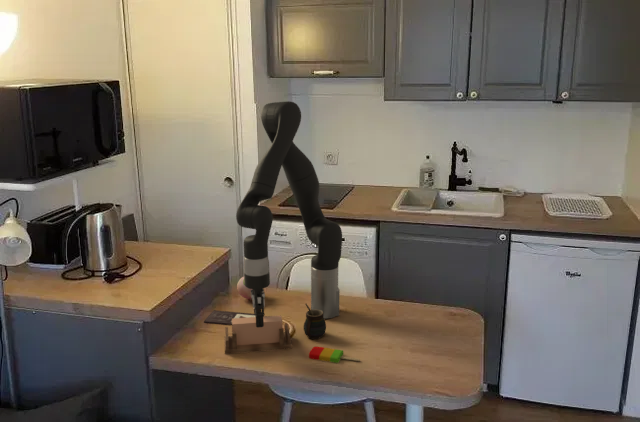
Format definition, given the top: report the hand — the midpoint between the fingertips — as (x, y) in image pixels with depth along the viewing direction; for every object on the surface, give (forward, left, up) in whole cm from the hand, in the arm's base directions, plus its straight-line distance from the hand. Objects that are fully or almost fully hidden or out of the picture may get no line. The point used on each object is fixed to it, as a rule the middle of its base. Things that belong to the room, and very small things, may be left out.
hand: (258, 320), depth 180 cm
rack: (+1, 0, -8) cm, 8 cm away
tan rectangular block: (+1, 0, -7) cm, 7 cm away
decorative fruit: (+2, -35, -8) cm, 36 cm away
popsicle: (-21, +12, -9) cm, 26 cm away
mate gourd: (-17, -3, -8) cm, 20 cm away
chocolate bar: (+7, -19, -9) cm, 22 cm away
